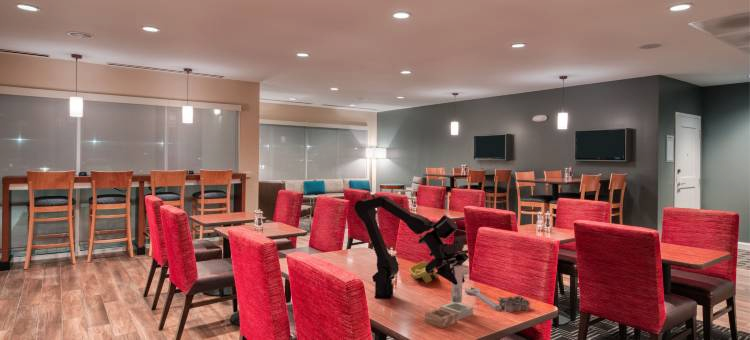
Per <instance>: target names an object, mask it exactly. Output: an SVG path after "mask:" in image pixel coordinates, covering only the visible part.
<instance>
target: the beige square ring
mask: <svg viewBox="0 0 750 340" xmlns="http://www.w3.org/2000/svg"><path fill="white" fill-rule="evenodd" d="M424 322H425V323H427V324H429V325H432V326H435V327H438V328H440V329H443V328H447V327H448V326H452V325H455V324H457V323H458V313H455V312H452V311H449V310H446V309H443V308H441V307H438V308H435V309H432V310H430V311H427V312H424Z"/></svg>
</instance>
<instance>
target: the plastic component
mask: <svg viewBox="0 0 750 340" xmlns="http://www.w3.org/2000/svg"><path fill="white" fill-rule="evenodd" d="M428 263H429V262H427V261H426V260H423V261H421V262H418V263H417V264H414V265H412V266H410V267H409V269H408V270H409V272H410V274H411V276H412V277H413V279H414V280H417V279H420V278H422V279H423V281H424V283H425V284H428V283H430V282H431V281H432V280H433V279H432V277H431V275H432V276H433V277H434V279H438V278H440V277H439V276H440V275H438V274H436V272H437V270H436V268H434V269H433V270H434V272H433V273H431V274H427V272H426V271H425V266H426V265H427V264H428Z"/></svg>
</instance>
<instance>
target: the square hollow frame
mask: <svg viewBox="0 0 750 340" xmlns="http://www.w3.org/2000/svg"><path fill="white" fill-rule="evenodd" d="M440 308H443V309H446V310H449V311H452V312H455V313H458V319H457V321H459V320H461V319H464V318H467V317H470V316H472V315H473V314H474V306H470V305H467V304H464V303H462V302H460V303H455V302H452V301H451V302H450V303H447V304H443V305H440Z"/></svg>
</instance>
